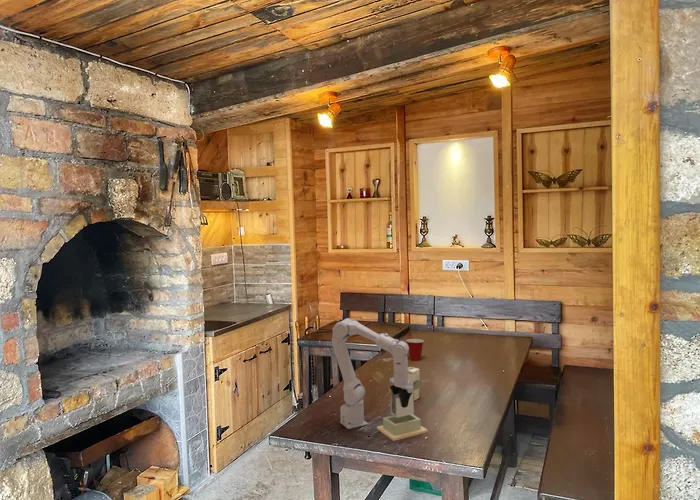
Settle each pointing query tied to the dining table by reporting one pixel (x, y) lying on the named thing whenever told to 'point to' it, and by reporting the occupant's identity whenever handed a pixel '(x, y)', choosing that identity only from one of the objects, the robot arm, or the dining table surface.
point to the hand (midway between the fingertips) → (401, 405)
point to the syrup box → (414, 381)
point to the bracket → (397, 406)
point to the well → (401, 427)
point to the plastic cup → (415, 348)
